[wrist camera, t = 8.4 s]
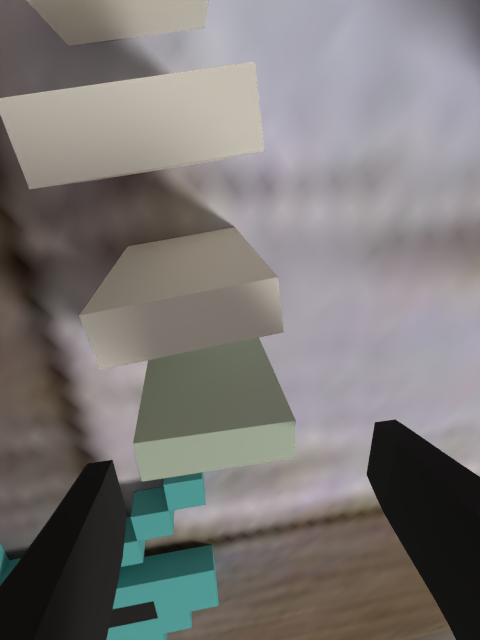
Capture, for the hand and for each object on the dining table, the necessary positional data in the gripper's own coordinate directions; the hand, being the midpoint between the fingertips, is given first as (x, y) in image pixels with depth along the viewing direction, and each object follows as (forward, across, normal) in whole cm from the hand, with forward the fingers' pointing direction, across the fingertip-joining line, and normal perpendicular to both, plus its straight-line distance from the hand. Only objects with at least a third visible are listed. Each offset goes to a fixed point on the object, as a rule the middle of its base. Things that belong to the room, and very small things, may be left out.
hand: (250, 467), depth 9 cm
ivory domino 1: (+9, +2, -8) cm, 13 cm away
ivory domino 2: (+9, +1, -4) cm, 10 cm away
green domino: (+9, +1, +1) cm, 9 cm away
